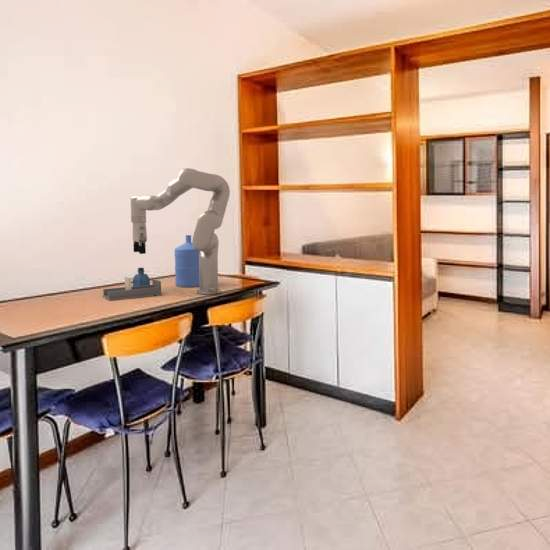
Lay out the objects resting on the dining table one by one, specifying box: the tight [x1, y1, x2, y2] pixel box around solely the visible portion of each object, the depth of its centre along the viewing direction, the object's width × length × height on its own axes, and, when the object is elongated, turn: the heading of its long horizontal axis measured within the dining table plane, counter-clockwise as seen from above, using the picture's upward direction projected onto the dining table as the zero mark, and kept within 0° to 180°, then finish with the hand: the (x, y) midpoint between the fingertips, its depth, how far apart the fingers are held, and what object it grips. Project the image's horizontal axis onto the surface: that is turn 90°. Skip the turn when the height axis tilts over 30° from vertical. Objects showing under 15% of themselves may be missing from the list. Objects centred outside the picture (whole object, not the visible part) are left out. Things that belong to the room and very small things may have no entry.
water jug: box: [174, 234, 200, 288], centre depth 289 cm, size 16×16×28 cm
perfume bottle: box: [132, 267, 151, 286], centre depth 274 cm, size 6×6×12 cm
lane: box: [102, 278, 163, 301], centre depth 258 cm, size 12×26×7 cm, turn 122°
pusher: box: [124, 275, 134, 290], centre depth 257 cm, size 7×2×8 cm, turn 32°
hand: (139, 252), depth 272 cm, fingers open, 9 cm apart
